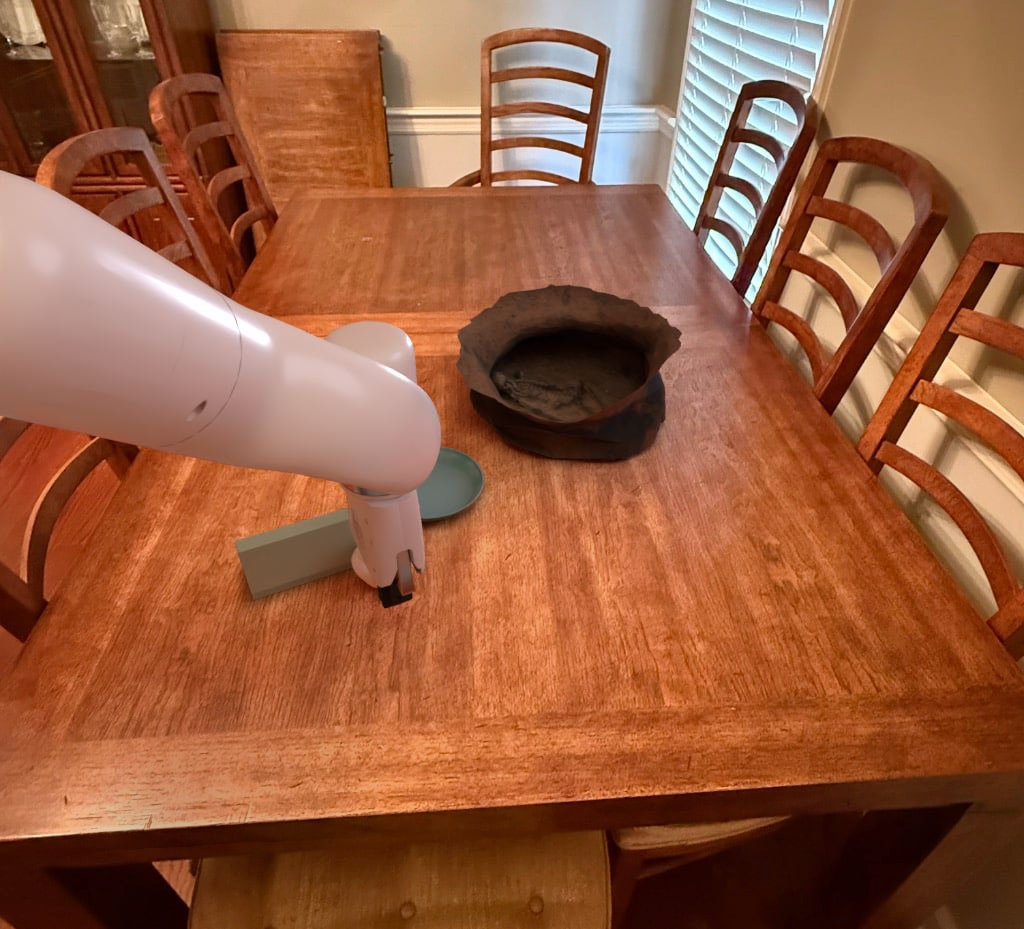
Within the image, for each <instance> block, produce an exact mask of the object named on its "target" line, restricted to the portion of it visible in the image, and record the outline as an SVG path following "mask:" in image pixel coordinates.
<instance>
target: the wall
mask: <svg viewBox="0 0 1024 929" xmlns="http://www.w3.org/2000/svg"><path fill="white" fill-rule="evenodd" d="M234 545H235V549H236V553H237V556H238V559H239V561H240V564H241V567H242V571H243V574H244V576H245V579H246V582H247V585H248V588H249V591H250V594H251V597H252V600H253V601H256V600H259V599H262V598H266V597H268V596H272V595H275V594H278V593H281V592H283V591H287V590H289V589H293V588H296V587H300V586H302V585H305V584H308V583H311V582H314V581H317V580H321V579H323V578H326V577H330V576H332V575H335V574H338V573H342V572H345V571H348V570H351V569H353V567H352V562H351V558H352V555H353V552H354V550H355V549H356V548H357V545H356V542H355V540H354V538H353V535H352V532H351V529H350V524H349V516H348V507H345V508H341V509H337V510H334V511H331V512H327V513H325V514H320V515H318V516H314V517H311V518H307V519H304V520H300V521H297V522H293V523H291V524H287V525H284V526H280V527H277V528H274V529H270V530H267V531H263V532H260V533H256V534H253V535H249V536H247V537H243V538H240V539H237V540H234Z"/></svg>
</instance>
